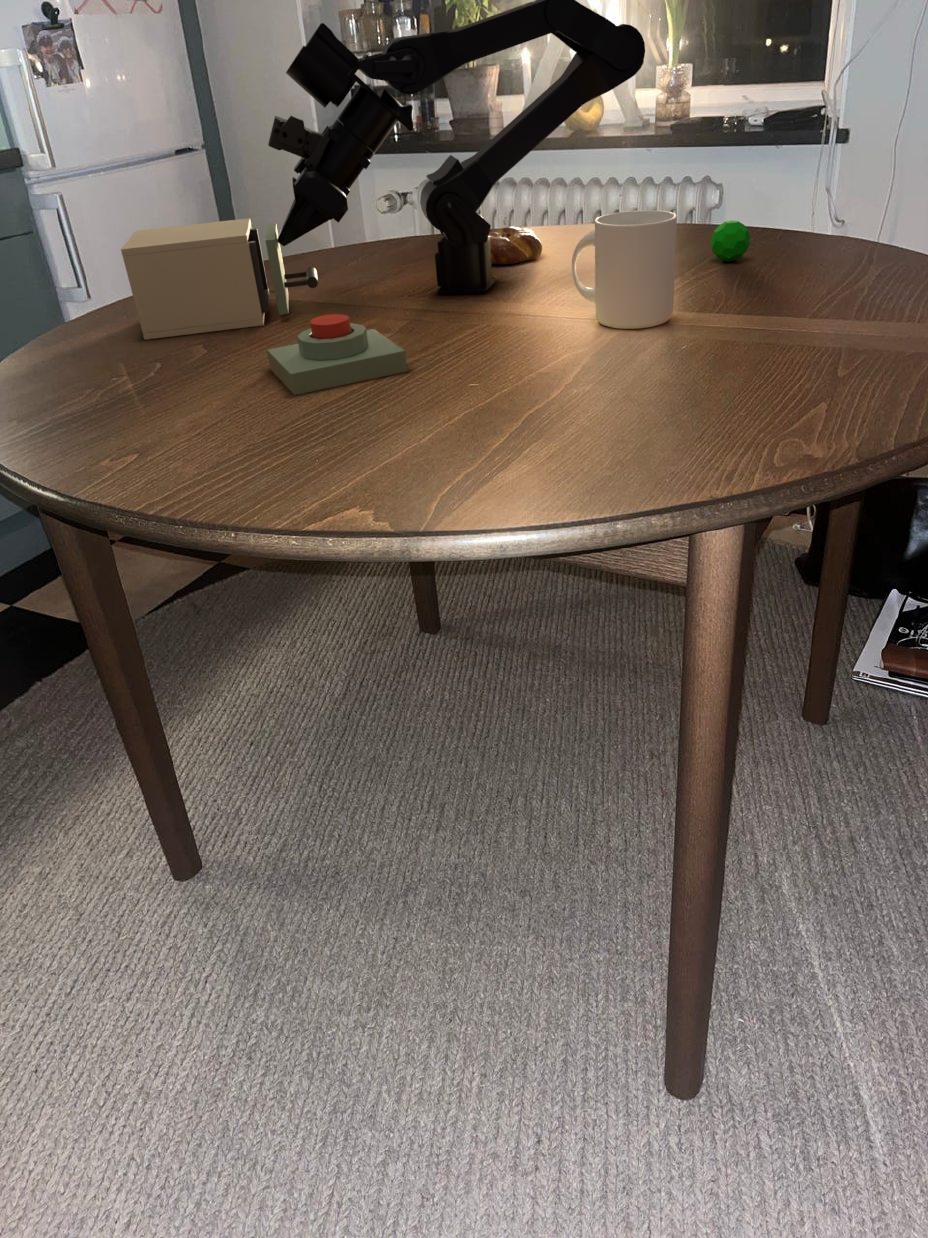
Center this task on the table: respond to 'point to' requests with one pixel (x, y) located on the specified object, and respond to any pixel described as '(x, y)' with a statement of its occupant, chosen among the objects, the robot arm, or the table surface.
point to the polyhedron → (730, 240)
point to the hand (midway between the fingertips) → (280, 243)
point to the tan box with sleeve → (193, 278)
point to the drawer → (275, 270)
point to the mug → (631, 268)
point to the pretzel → (514, 245)
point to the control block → (336, 360)
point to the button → (330, 326)
